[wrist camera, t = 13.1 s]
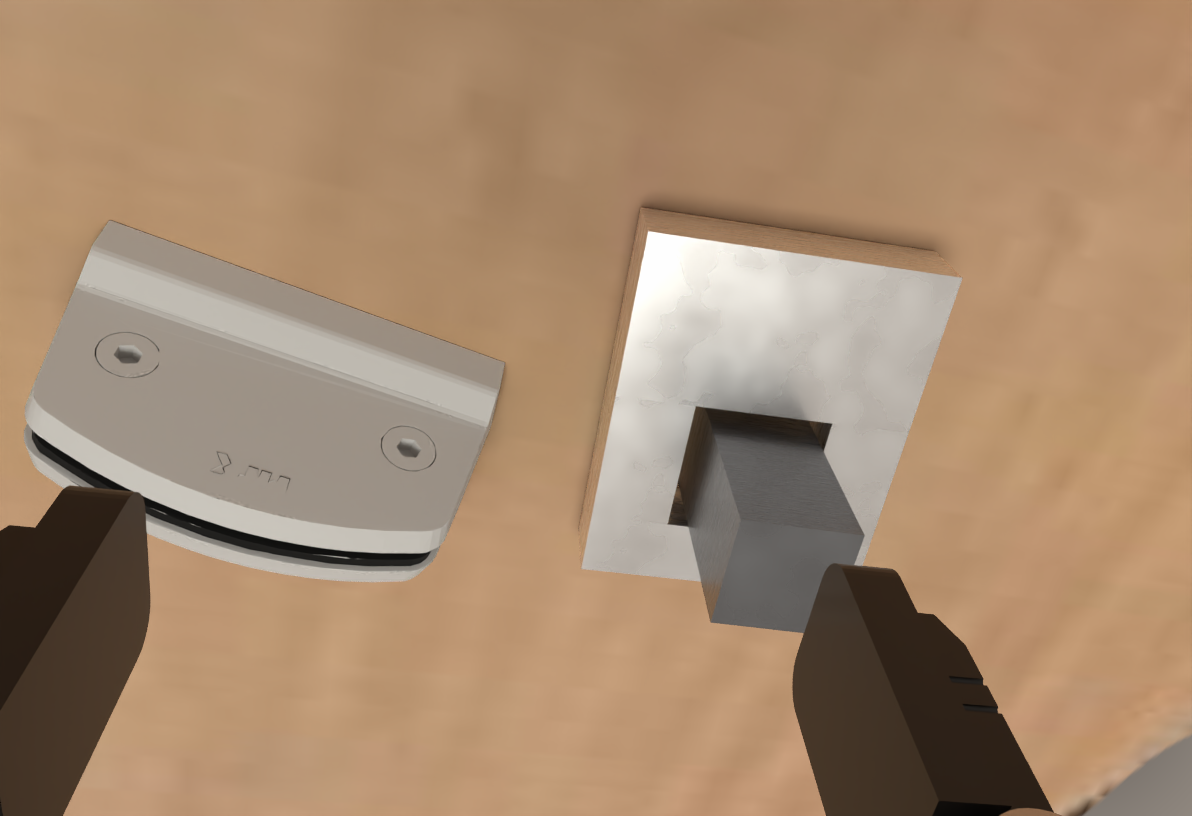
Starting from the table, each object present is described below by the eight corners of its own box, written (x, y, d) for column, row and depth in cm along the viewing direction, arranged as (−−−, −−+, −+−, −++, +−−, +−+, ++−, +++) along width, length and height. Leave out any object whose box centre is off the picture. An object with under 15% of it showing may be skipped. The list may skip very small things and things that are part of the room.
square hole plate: (640, 206, 40) (648, 231, 38) (935, 251, 42) (962, 277, 39) (578, 528, 47) (581, 568, 44) (833, 557, 48) (851, 597, 46)
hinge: (514, 366, 43) (474, 564, 36) (478, 434, 46) (435, 629, 39) (98, 215, 39) (-36, 405, 32) (90, 302, 42) (-33, 491, 36)
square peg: (699, 387, 44) (740, 519, 35) (798, 401, 45) (864, 535, 36) (676, 475, 46) (710, 622, 37) (772, 488, 46) (828, 635, 38)
